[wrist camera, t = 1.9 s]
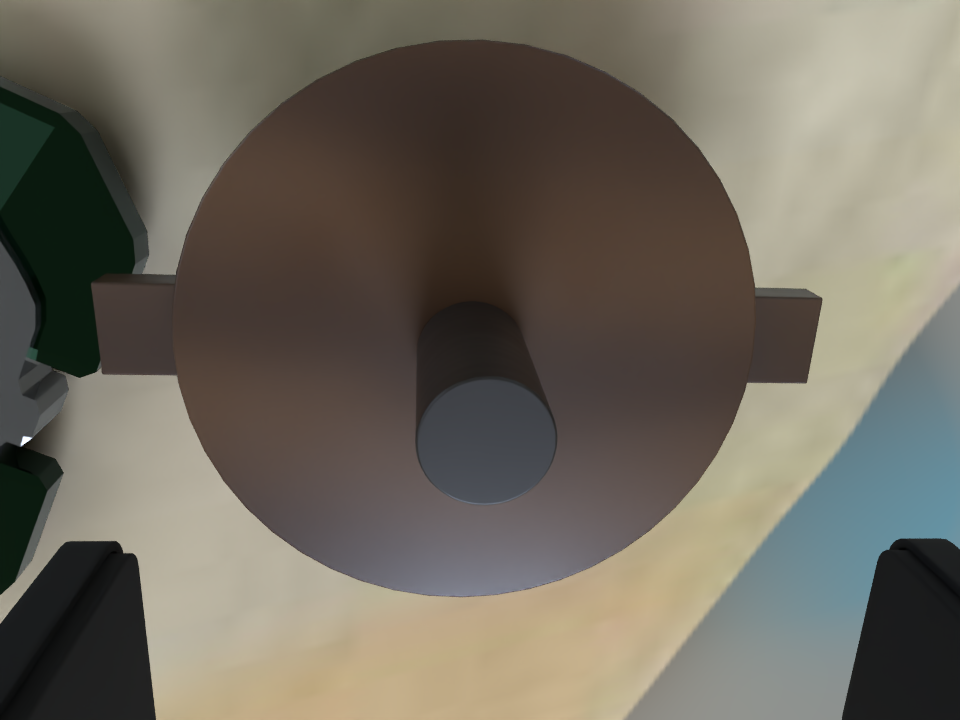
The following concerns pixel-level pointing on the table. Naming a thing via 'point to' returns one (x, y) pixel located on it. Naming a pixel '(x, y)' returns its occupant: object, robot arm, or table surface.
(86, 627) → the robot arm
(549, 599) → the table surface
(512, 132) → the lid
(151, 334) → the two-handled cooking pot
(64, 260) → the four-lobed dark green device
